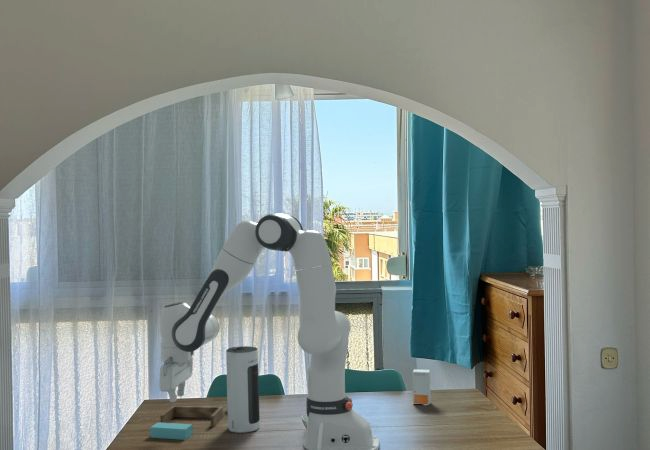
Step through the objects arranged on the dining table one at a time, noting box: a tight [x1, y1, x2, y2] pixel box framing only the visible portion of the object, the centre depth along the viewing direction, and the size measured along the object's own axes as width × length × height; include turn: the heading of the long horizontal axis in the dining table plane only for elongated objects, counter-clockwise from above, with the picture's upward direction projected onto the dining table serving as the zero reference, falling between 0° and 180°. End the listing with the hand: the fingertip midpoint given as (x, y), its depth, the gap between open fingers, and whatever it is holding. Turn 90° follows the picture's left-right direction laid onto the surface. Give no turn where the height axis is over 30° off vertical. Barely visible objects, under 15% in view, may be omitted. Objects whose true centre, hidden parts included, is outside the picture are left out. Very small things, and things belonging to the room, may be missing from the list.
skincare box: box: [412, 368, 432, 405], centre depth 233 cm, size 6×4×12 cm
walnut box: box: [160, 405, 224, 428], centre depth 217 cm, size 18×11×4 cm, turn 83°
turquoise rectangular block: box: [149, 421, 194, 441], centre depth 203 cm, size 12×5×4 cm, turn 76°
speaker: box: [225, 345, 261, 434], centre depth 209 cm, size 11×10×26 cm
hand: (177, 398), depth 202 cm, fingers open, 5 cm apart
